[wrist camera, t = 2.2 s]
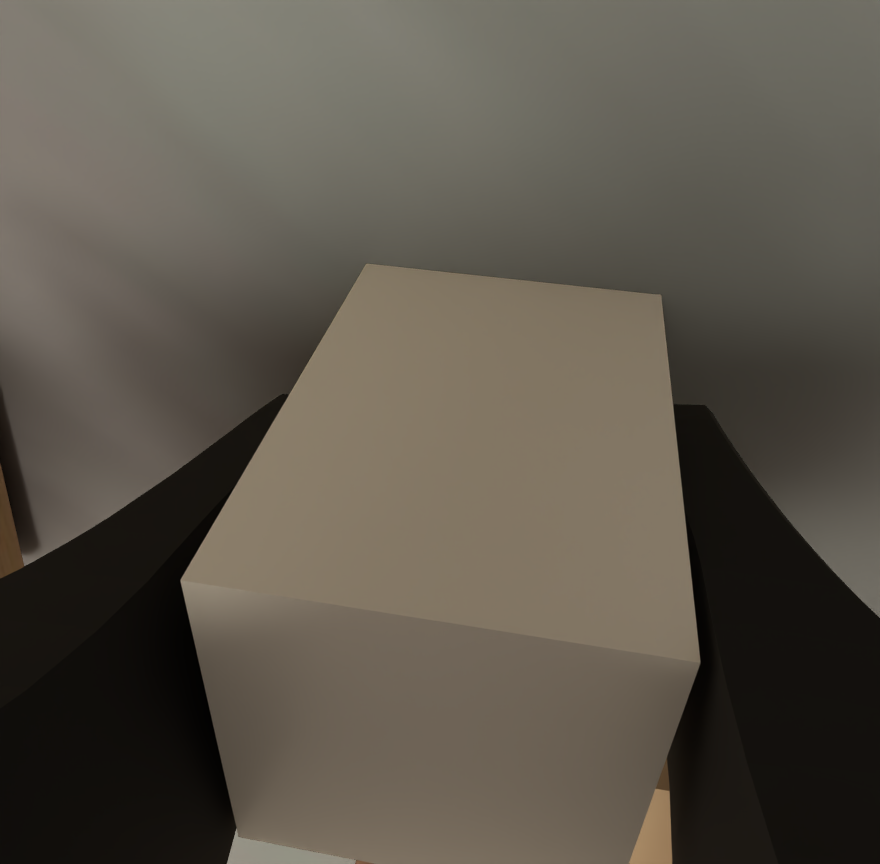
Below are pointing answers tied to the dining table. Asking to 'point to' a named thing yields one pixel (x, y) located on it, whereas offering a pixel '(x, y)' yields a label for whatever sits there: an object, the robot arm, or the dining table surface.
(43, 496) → the dining table surface
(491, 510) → the cream cube
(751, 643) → the robot arm
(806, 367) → the dining table surface
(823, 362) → the dining table surface
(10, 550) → the decorative block
